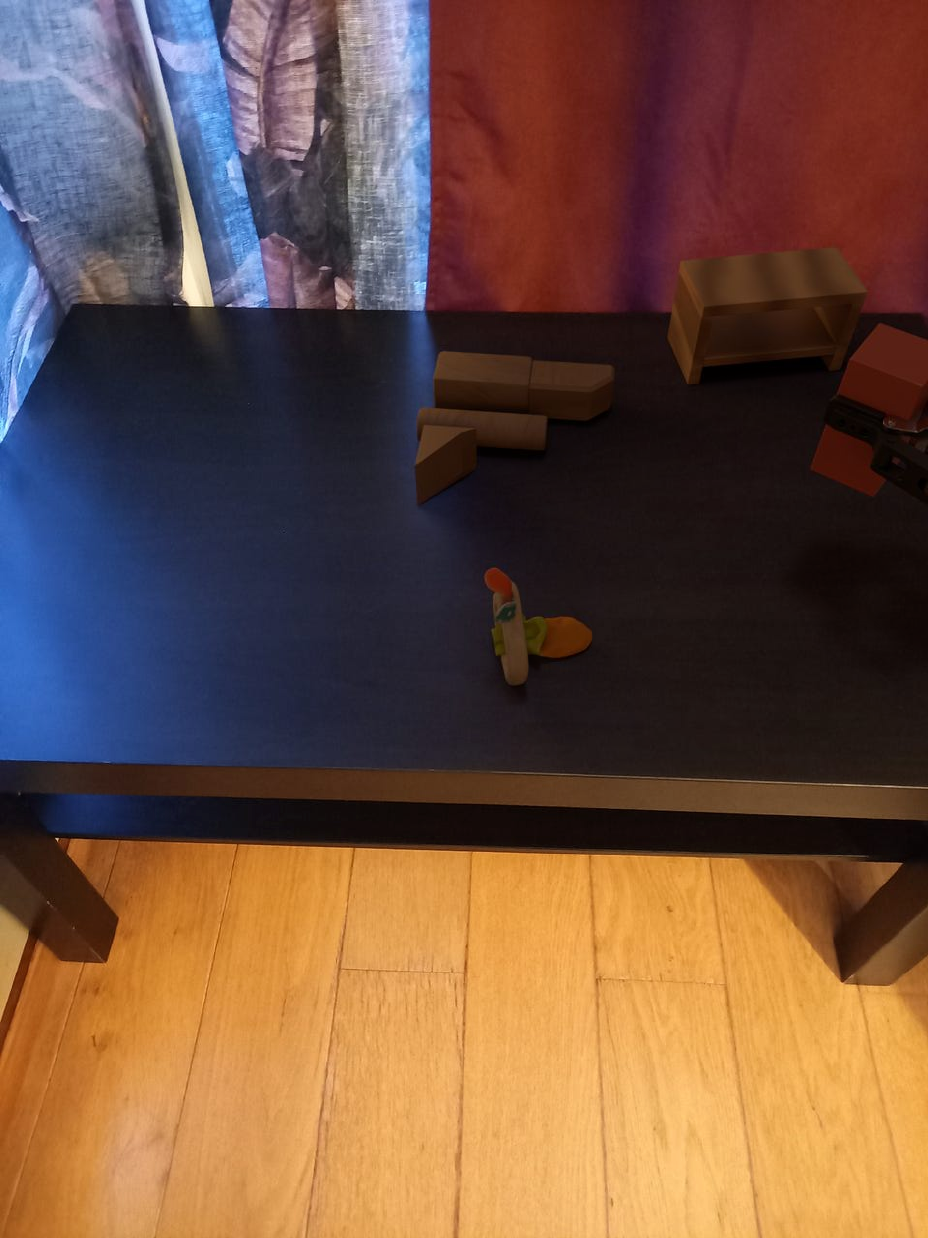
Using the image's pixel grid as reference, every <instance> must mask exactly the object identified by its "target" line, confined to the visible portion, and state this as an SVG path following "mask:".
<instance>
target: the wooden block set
mask: <svg viewBox="0 0 928 1238" xmlns="http://www.w3.org/2000/svg"><path fill="white" fill-rule="evenodd" d="M435 365H436V366H435V368H434V374H433V377H432V383H433V384H432V385H433V389H432V390H433V407H425V406H423V407H420V408H419V410H418V413H417V417H416V418H417V419H416V438H417V441H418V442H419V444H418V449H417V453H416V458H415V463H414V474H415V476H414V477H415V478H414V479H415V490H416V491H415V492H416V503H417V506H420V505H422V503H424V502H426V501H428V499H430V498H432V497H433V496H435V495H437V494H438V493H440V492H442V491H443V490H445V489H447V488H448V487H449V486H451V485H452V484H454V483H456V482H457V481H459V480H461V479H463V478H464V477H465V476H467V475H469V474H470V473H472V472H473V471H475V470H477V465H478V464H477V462H478V461H477V459H478V458H477V453H478V452H477V449H478V447H485V448H496V449H497V448H499V449H500V448H501V449H513V450H514V449H515V450H527V451H541V452H542V451H545V449H546V448H547V447H546V445H547V436H548V435H547V434H548V423H549V421H548V420H549V419H552V420H565V421H578V422H579V421H580V422H587V421H589V420H591V419H594V418H595V417H597V416H599V415H600V414H602V413H604V412H606V411H608V410H609V409H610V407H611V405H612V396H613V389H614V382H615V367H614V366H613V365H612V364H601V363H599V364H598V363H584V362H583V363H581V362H568V361H567V362H566V361H550V360H535V359H532V357H531V356H526V355H509V354H494V353H493V354H492V353H477V352H463V351H462V352H459V351H445V350H443V351H440V352H439V354H438V356H437V360H436V364H435Z"/></svg>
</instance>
